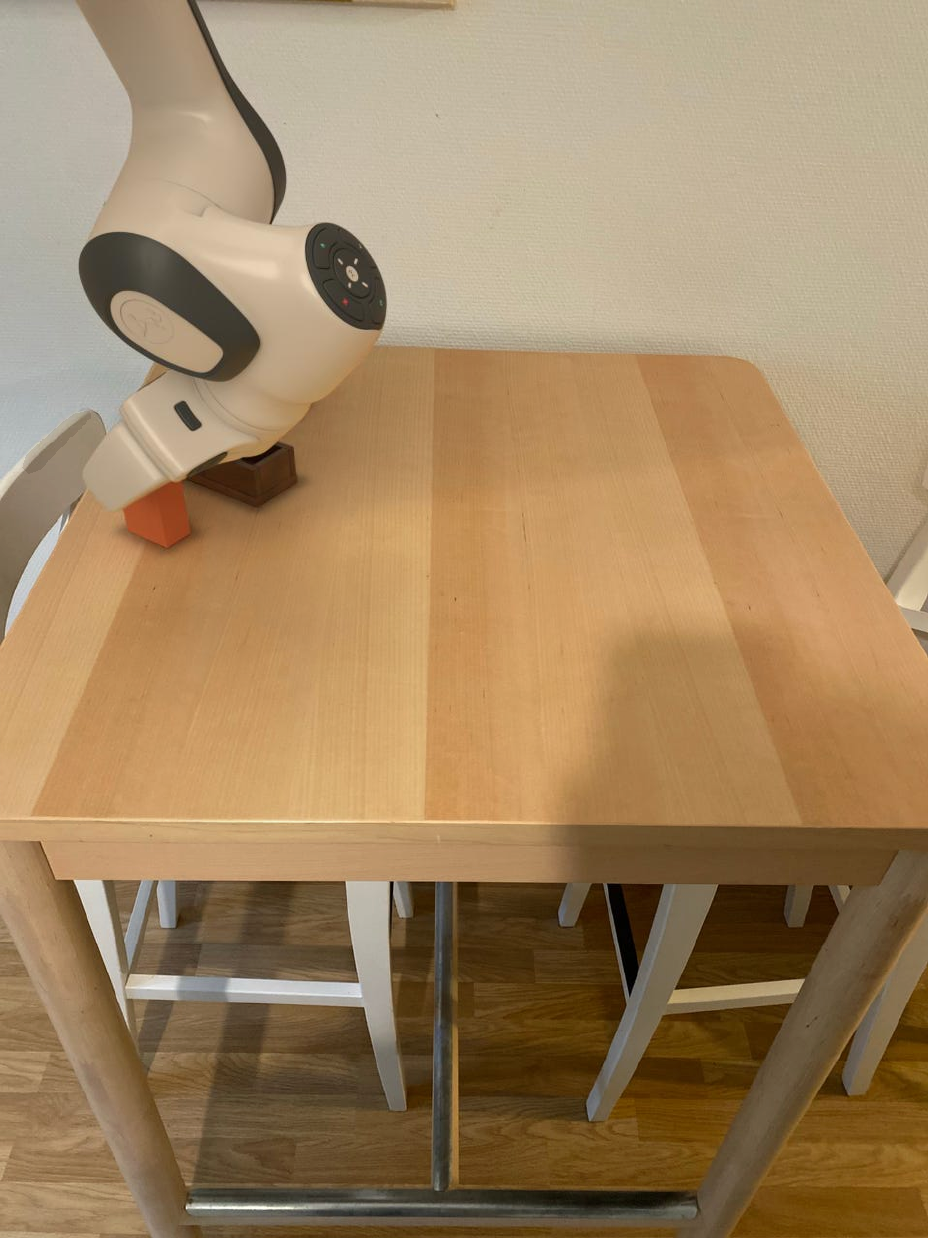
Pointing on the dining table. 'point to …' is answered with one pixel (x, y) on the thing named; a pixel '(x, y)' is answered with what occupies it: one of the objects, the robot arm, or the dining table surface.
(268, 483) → the mount
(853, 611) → the dining table surface
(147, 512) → the orange rectangular block
